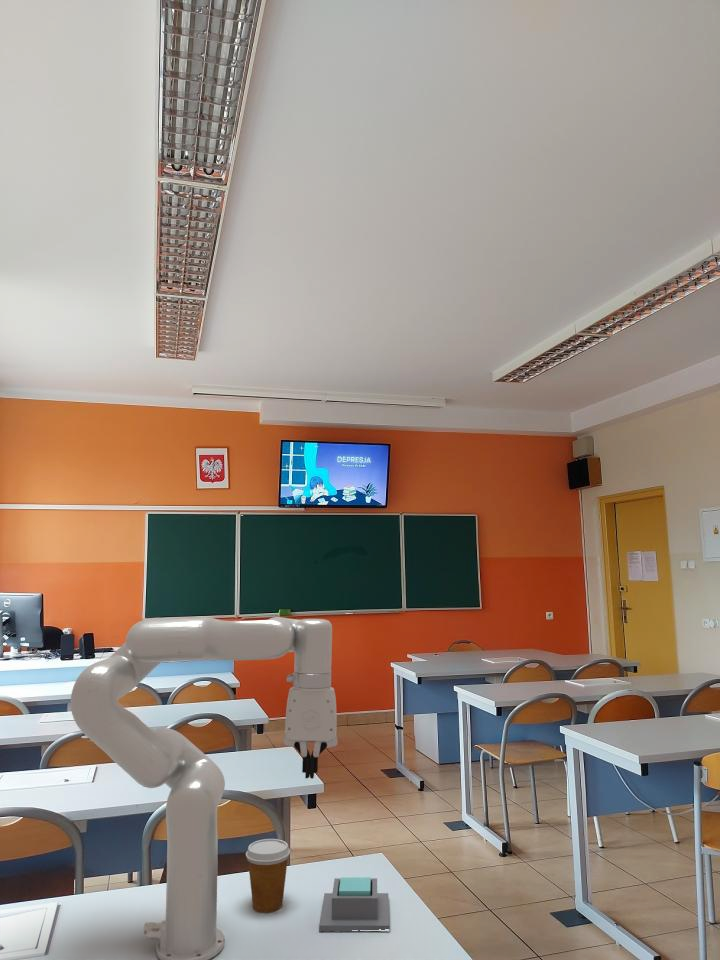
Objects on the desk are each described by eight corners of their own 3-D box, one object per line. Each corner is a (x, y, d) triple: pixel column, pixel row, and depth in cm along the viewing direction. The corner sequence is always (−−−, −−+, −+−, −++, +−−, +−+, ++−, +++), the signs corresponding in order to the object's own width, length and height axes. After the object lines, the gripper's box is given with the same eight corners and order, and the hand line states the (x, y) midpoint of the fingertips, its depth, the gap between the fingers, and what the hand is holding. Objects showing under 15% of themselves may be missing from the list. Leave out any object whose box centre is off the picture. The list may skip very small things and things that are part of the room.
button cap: (339, 912, 139) (339, 891, 139) (340, 897, 145) (340, 877, 146) (370, 912, 139) (370, 891, 139) (370, 897, 145) (370, 877, 146)
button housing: (319, 932, 135) (318, 903, 136) (324, 899, 149) (324, 873, 149) (389, 932, 134) (389, 903, 135) (388, 899, 148) (388, 873, 149)
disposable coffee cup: (295, 911, 143) (295, 850, 145) (250, 920, 140) (251, 857, 142) (283, 892, 152) (283, 835, 154) (241, 900, 149) (241, 841, 150)
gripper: (273, 683, 134) (269, 781, 131) (349, 684, 134) (347, 782, 131) (277, 677, 141) (274, 770, 139) (349, 679, 141) (347, 771, 139)
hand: (309, 776), depth 135 cm, fingers closed
